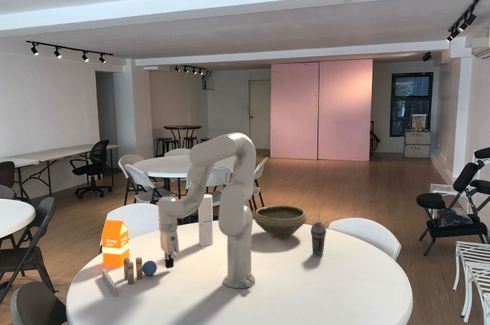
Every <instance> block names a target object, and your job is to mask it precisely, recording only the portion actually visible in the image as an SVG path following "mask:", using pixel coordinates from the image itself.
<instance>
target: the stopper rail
mask: <svg viewBox="0 0 490 325" xmlns="http://www.w3.org/2000/svg"><path fill="white" fill-rule="evenodd" d="M101 273H102V278H103V280H104V281H105V283H106V284H107V286H108V288H109V289H110V291H111V293H112V294H113V296H114V297H118V296H119V292H118V290H119V289H118V287H117V285H116V283H115V282H114V280H113V279H112V277H111V276H110V274H109V273H108V271H107V270H106V268H104V269H102V272H101Z"/></svg>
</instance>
